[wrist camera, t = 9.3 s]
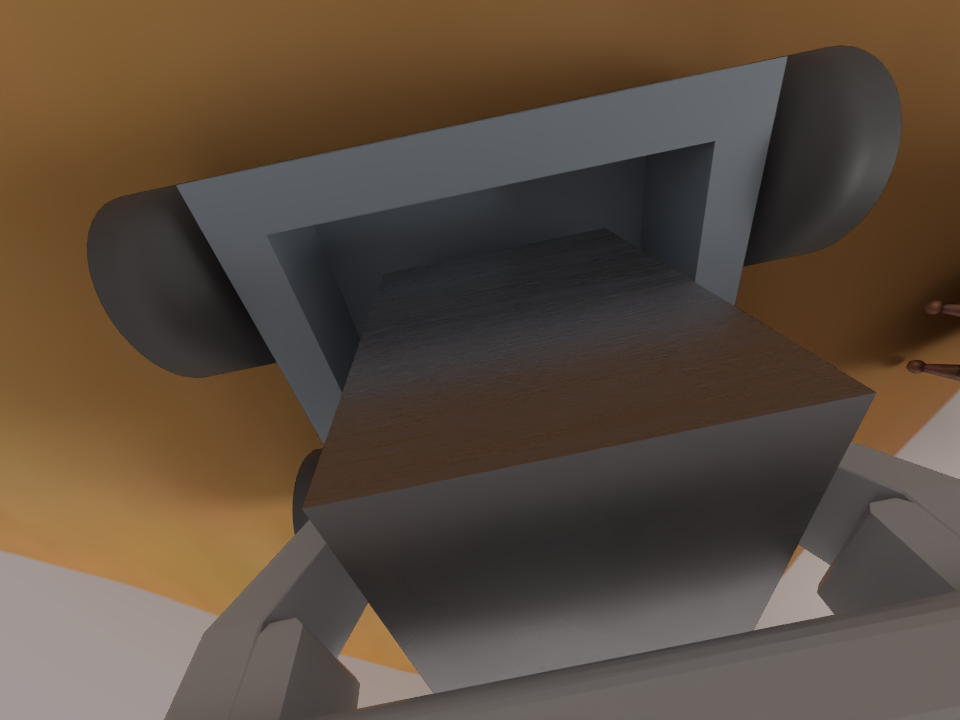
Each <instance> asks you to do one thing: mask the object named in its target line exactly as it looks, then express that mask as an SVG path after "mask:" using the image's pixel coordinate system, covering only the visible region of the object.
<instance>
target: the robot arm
mask: <svg viewBox="0 0 960 720" xmlns="http://www.w3.org/2000/svg"><path fill="white" fill-rule="evenodd" d="M798 545H800V546H802V547H803V548H805V549H806V550H808V551H809V552H811V553H812V554H814V555H815V556H817V557H819V558H820V559H822V560H823V561H825V562H827V563H828V564H829V565H831V566H830V567H829V569H828V570H827V572H826V574H825V575H824V577H823V578H822V580H821V582H820V583H819V586H818V591H817V593H818V594H819V596H820V597H821V598H822V599H823V601H824V602H825V603H826V604H827V606H829V608H830V609H831V611H832V612H833V613H834V614H835V615H831V616H825V617H820V618H815V619H810V620H805V621H800V622H795V623H790V624H785V625H780V626H775V627H769V628H765V629H759V630H754V631H749V632H744V633H739V634H734V635H729V636H724V637H719V638H714V639H709V640H703V641H698V642H693V643H688V644H683V645H678V646H673V647H668V648H663V649H658V650H653V651H648V652H643V653H638V654H632V655H627V656H622V657H617V658H612V659H607V660H602V661H597V662H592V663H587V664H582V665H577V666H572V667H567V668H561V669H556V670H551V671H546V672H541V673H536V674H531V675H526V676H521V677H516V678H511V679H506V680H501V681H496V682H490V683H485V684H480V685H475V686H470V687H465V688H460V689H455V690H450V691H445V692H440V693H435V694H430V695H425V696H420V697H415V698H410V699H404V700H399V701H394V702H389V703H385V704H379V705H374V706H369V707H364V708H359V709H357V704H358V696H359V688H360V683H359V682H358V680H357V679H356V677H355V676H354V675H353V674H352V673H351V672H350V671H349V670H348V669H347V668H346V667H345V666H344V665H343V664H342V663H341V662H340V661H339V660H338V659H337V657H338V656H339V654H340V652H341V650H342V648H343V647H344V645H345V643H346V641H347V639H348V638H349V636H350V634H351V632H352V631H353V629H354V627H355V625H356V623H357V622H358V620H359V618H360V616H361V614H362V613H363V611H364V609H365V607H366V606H367V604H368V601H367V600H366V598H365V597H364V595H363V594H362V593H361V591H360V590H359V588H358V587H357V586H356V584H355V583H354V581H353V580H352V579H351V577H350V576H349V574H348V573H347V572H346V570H345V569H344V567H343V566H342V565H341V563H340V562H339V560H338V559H337V558H336V556H335V555H334V553H333V552H332V551H331V549H330V548H329V546H328V545H327V543H326V542H325V541H324V539H323V538H322V536H321V535H320V534H319V532H318V531H317V529H316V528H315V527H314V525H313V524H312V522H311V521H310V520H308V522H307V523H306V524H305V525H304V526H303V527H302V528H301V529H300V530H299V531H298V532H297V533H296V534H295V536H294V537H293V538H292V539H291V540H290V541H289V542H288V543H287V544H286V545H285V546H284V547H283V548H282V550H281V551H280V552H279V553H278V554H277V555H276V556H275V557H274V558H273V559H272V560H271V561H270V562H269V564H268V565H267V566H266V567H265V568H264V569H263V570H262V571H261V572H260V573H259V574H258V575H257V576H256V578H255V579H254V580H253V581H252V582H251V583H250V584H249V585H248V586H247V587H246V588H245V589H244V590H243V592H242V593H241V594H240V595H239V596H238V597H237V598H236V599H235V600H234V601H233V602H232V603H231V604H230V606H229V607H228V608H227V609H226V610H225V611H224V612H223V613H222V614H221V615H220V616H219V617H218V618H217V620H216V621H215V622H214V623H213V624H212V625H211V626H210V627H209V628H208V629H207V630H206V631H205V633H204V634H203V636H202V638H201V641H200V642H199V645H198V647H197V649H196V651H195V653H194V656H193V658H192V660H191V662H190V664H189V667H188V669H187V671H186V673H185V675H184V677H183V680H182V682H181V684H180V686H179V688H178V690H177V693H176V695H175V697H174V699H173V701H172V704H171V706H170V708H169V710H168V712H167V714H166V717H165V719H164V720H960V479H957V478H954V477H951V476H948V475H945V474H943V473H939V472H937V471H934V470H931V469H928V468H925V467H923V466H920V465H917V464H914V463H911V462H908V461H905V460H903V459H900V458H897V457H894V456H891V455H888V454H885V453H883V452H880V451H877V450H874V449H871V448H868V447H865V446H863V445H860V444H857V443H854V442H851V443H850V445H849V447H848V449H847V451H846V453H845V455H844V457H843V458H842V460H841V462H840V464H839V466H838V468H837V470H836V472H835V474H834V476H833V478H832V480H831V482H830V484H829V486H828V487H827V489H826V491H825V493H824V495H823V497H822V499H821V501H820V503H819V505H818V507H817V509H816V511H815V513H814V515H813V516H812V518H811V520H810V522H809V524H808V526H807V528H806V530H805V532H804V534H803V536H802V538H801V540H800V542H799V544H798Z"/></svg>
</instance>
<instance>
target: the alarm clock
mask: <svg viewBox="0 0 960 720" xmlns="http://www.w3.org/2000/svg"><path fill="white" fill-rule="evenodd" d="M925 311H926V312H927V313H930V314H938V313H945V314H950V315H954V316H958V317H960V304H945V303H944V302H942V301H939V300H934V301H931V302H929V303H927V304H926V306H925ZM906 367H907V369H908V371H910V372H912V373H921V372H926V373H930V374H934V375H938V376H942V377H946V378H950V379H954V380H958V381H960V365H951V364H925V363H924V362H923V361H921V360H913V361H910V362H909V363H908V364H907V366H906Z"/></svg>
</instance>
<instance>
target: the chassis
mask: <svg viewBox="0 0 960 720" xmlns="http://www.w3.org/2000/svg"><path fill="white" fill-rule="evenodd" d="M901 126H902V116H901V104H900V100H899V95H898V91H897V88H896V86H895V83H894V81H893V79H892V76H891V75H890V73H889V72H888V70H887V69H886V67H885V66H884V65H883V64H882V63H881V62H880V61H879V60H878V59H877V58H876V57H875V56H873V55H872V54H870V53H868V52H866V51H865V50H862V49H859V48H856V47H853V46H841V45H840V46H831V47H825V48H820V49H816V50H811V51H806V52H801V53H797V54H792V55H787V56H783V57H778V58H773V59H768V60H764V61H759V62H754V63H750V64H746V65H741V66H736V67H731V68H726V69H721V70H716V71H711V72H706V73H701V74H696V75H691V76H686V77H681V78H676V79H671V80H666V81H661V82H657V83H652V84H647V85H642V86H638V87H633V88H628V89H624V90H619V91H614V92H609V93H605V94H600V95H595V96H590V97H586V98H581V99H576V100H572V101H567V102H562V103H557V104H553V105H548V106H543V107H538V108H534V109H529V110H524V111H519V112H515V113H510V114H505V115H501V116H496V117H491V118H486V119H482V120H477V121H472V122H467V123H463V124H458V125H453V126H449V127H444V128H439V129H434V130H430V131H425V132H420V133H415V134H411V135H406V136H401V137H397V138H392V139H387V140H382V141H378V142H373V143H368V144H363V145H359V146H354V147H349V148H344V149H340V150H335V151H330V152H326V153H321V154H316V155H311V156H307V157H302V158H297V159H292V160H288V161H283V162H278V163H274V164H269V165H264V166H260V167H255V168H251V169H246V170H242V171H237V172H233V173H229V174H224V175H220V176H215V177H211V178H207V179H202V180H196V181H191V182H187V183H182V184H177V185H172V186H168V187H163V188H158V189H153V190H149V191H144V192H139V193H135V194H130V195H125V196H121V197H118V198H115V199H112V200H111V201H109V202H108V203H106V204H105V205H104V206H103V207H102V208H101V209H100V210H99V211H98V212H97V214H96V215H95V217H94V219H93V221H92V223H91V226H90V230H89V233H88V241H87V257H88V264H89V270H90V275H91V278H92V281H93V284H94V288H95V290H96V293H97V295H98V297H99V299H100V302H101V304H102V306H103V307H104V309H105V311H106V313H107V314H108V316H109V318H110V319H111V321H112V322H113V324H114V325H115V326H116V328H117V329H118V330H119V332H120V333H121V334H122V335H123V336H124V338H125V339H126V340H127V341H128V342H129V343H130V344H131V345H132V346H133V347H134V348H135V349H136V350H137V351H138V352H140V353H141V354H142V355H143V356H144V357H146V358H147V359H149V360H150V361H151V362H153V363H154V364H156V365H158V366H159V367H161V368H163V369H165V370H167V371H170V372H172V373H174V374H177V375H181V376H185V377H192V378H204V377H209V376H214V375H219V374H224V373H229V372H234V371H238V370H243V369H248V368H253V367H258V366H263V365H267V364H272V363H276V362H277V364H278V366H279V367H280V369H281V371H282V373H283V374H284V376H285V378H286V380H287V381H288V383H289V385H290V387H291V388H292V390H293V392H294V394H295V395H296V397H297V399H298V401H299V403H300V404H301V406H302V408H303V410H304V411H305V413H306V415H307V417H308V418H309V420H310V422H311V424H312V425H313V427H314V429H315V431H316V432H317V434H318V436H319V438H320V439H321V441H322V443H323V445H324V444H325V441H326V438H327V435H328V432H329V430H330V427H331V424H332V421H333V418H334V415H335V412H336V409H337V406H338V403H339V401H340V398H341V395H342V392H343V389H344V386H345V383H346V380H347V377H348V374H349V372H350V369H351V366H352V363H353V360H354V357H355V354H356V351H357V348H358V346H359V343H360V340H361V337H362V334H363V331H364V328H365V325H366V322H367V319H368V317H369V314H370V311H371V308H372V305H373V302H374V299H375V296H376V293H377V290H378V288H379V285H380V282H381V279H382V276H383V274H385V273H390V272H395V271H400V270H404V269H409V268H414V267H419V266H424V265H428V264H433V263H438V262H443V261H448V260H452V259H457V258H462V257H467V256H472V255H476V254H481V253H486V252H491V251H496V250H500V249H505V248H510V247H515V246H520V245H524V244H529V243H534V242H539V241H544V240H548V239H553V238H558V237H563V236H568V235H573V234H577V233H582V232H587V231H592V230H597V229H601V228H606V229H608V230H610V231H611V232H613V233H615V234H616V235H618V236H620V237H621V238H623V239H625V240H626V241H628V242H630V243H631V244H633V245H634V246H636V247H638V248H639V249H641V250H643V251H644V252H646V253H648V254H649V255H651V256H653V257H654V258H656V259H658V260H659V261H661V262H662V263H664V264H666V265H667V266H669V267H671V268H672V269H674V270H676V271H677V272H679V273H681V274H682V275H684V276H686V277H687V278H689V279H690V280H692V281H694V282H695V283H697V284H699V285H700V286H702V287H704V288H705V289H707V290H709V291H710V292H712V293H714V294H715V295H717V296H718V297H720V298H722V299H723V300H725V301H727V302H728V303H730V304H732V305H733V306H735V302H736V297H737V292H738V287H739V283H740V278H741V273H742V269H743V266H748V265H753V264H757V263H762V262H767V261H772V260H777V259H782V258H787V257H791V256H796V255H801V254H806V253H811V252H815V251H818V250H820V249H823V248H825V247H827V246H829V245H831V244H833V243H835V242H837V241H838V240H840V239H841V238H843V237H844V236H846V235H847V234H848V233H849V232H850V231H851V230H853V229H854V228H855V227H856V226H857V225H858V224H859V223H860V222H861V221H862V220H863V219H864V217H865V216H866V215H867V214H868V213H869V211H870V210H871V209H872V207H873V206H874V205H875V203H876V202H877V200H878V198H879V197H880V195H881V193H882V192H883V190H884V188H885V186H886V184H887V182H888V180H889V177H890V175H891V173H892V170H893V167H894V164H895V161H896V158H897V154H898V149H899V144H900V139H901ZM322 450H323V448H321V449H317V450H314V451H312V452H311V453H309V454H308V455H307V457H306V458H305V459H304V461H303V462H302V464H301V467H300V469H299V472H298V474H297V478H296V482H295V487H294V494H293V525H294V532H295V534H296V533H297V532H298V531H299V530H300V529H301V528H302V527H303V526H304V525H305V524H306V523H307V522H308V520H309V518H308V517H307V515H306V514H305V513H304V511H303V510H302V508H303V505H304V502H305V499H306V496H307V493H308V490H309V487H310V485H311V482H312V479H313V476H314V473H315V470H316V467H317V464H318V461H319V458H320V456H321V453H322Z"/></svg>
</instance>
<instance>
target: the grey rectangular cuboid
mask: <svg viewBox="0 0 960 720" xmlns="http://www.w3.org/2000/svg"><path fill="white" fill-rule="evenodd" d="M876 393H877V392H875V391H873V390H872V389H870V388H868V387H867V386H865V385H863V384H862V383H860V382H859V381H857V380H855V379H854V378H852V377H850V376H849V375H847V374H845V373H844V372H842V371H840V370H839V369H837V368H835V367H834V366H832V365H831V364H829V363H827V362H826V361H824V360H822V359H821V358H819V357H817V356H816V355H814V354H812V353H811V352H809V351H807V350H806V349H804V348H803V347H801V346H799V345H798V344H796V343H794V342H793V341H791V340H789V339H788V338H786V337H784V336H783V335H781V334H779V333H778V332H776V331H775V330H773V329H771V328H770V327H768V326H766V325H765V324H763V323H761V322H760V321H758V320H756V319H755V318H753V317H751V316H750V315H748V314H747V313H745V312H743V311H742V310H740V309H738V308H737V307H735V306H733V305H732V304H730V303H728V302H727V301H725V300H723V299H722V298H720V297H718V296H717V295H715V294H714V293H712V292H710V291H709V290H707V289H705V288H704V287H702V286H700V285H699V284H697V283H695V282H694V281H692V280H690V279H689V278H687V277H686V276H684V275H682V274H681V273H679V272H677V271H676V270H674V269H672V268H671V267H669V266H667V265H666V264H664V263H662V262H661V261H659V260H658V259H656V258H654V257H653V256H651V255H649V254H648V253H646V252H644V251H643V250H641V249H639V248H638V247H636V246H634V245H633V244H631V243H630V242H628V241H626V240H625V239H623V238H621V237H620V236H618V235H616V234H615V233H613V232H611V231H610V230H608V229H606V228H601V229H597V230H592V231H587V232H582V233H577V234H573V235H568V236H563V237H558V238H553V239H548V240H544V241H539V242H534V243H529V244H524V245H520V246H515V247H510V248H505V249H500V250H496V251H491V252H486V253H481V254H476V255H472V256H467V257H462V258H457V259H452V260H448V261H443V262H438V263H433V264H428V265H424V266H419V267H414V268H409V269H404V270H400V271H395V272H390V273H385V274H383V276H382V279H381V282H380V285H379V288H378V290H377V293H376V296H375V299H374V302H373V305H372V308H371V311H370V314H369V317H368V319H367V322H366V325H365V328H364V331H363V334H362V337H361V340H360V343H359V346H358V348H357V351H356V354H355V357H354V360H353V363H352V366H351V369H350V372H349V374H348V377H347V380H346V383H345V386H344V389H343V392H342V395H341V398H340V401H339V403H338V406H337V409H336V412H335V415H334V418H333V421H332V424H331V427H330V430H329V432H328V435H327V438H326V441H325V444H324V447H323V450H322V453H321V456H320V458H319V461H318V464H317V467H316V470H315V473H314V476H313V479H312V482H311V485H310V487H309V490H308V493H307V496H306V499H305V502H304V505H303V508H302V510H303V511H304V513H305V514H306V515H307V517H308V518H309V520H310V521H311V522H312V524H313V525H314V527H315V528H316V529H317V531H318V532H319V534H320V535H321V536H322V538H323V539H324V541H325V542H326V543H327V545H328V546H329V548H330V549H331V551H332V552H333V553H334V555H335V556H336V558H337V559H338V560H339V562H340V563H341V565H342V566H343V567H344V569H345V570H346V572H347V573H348V574H349V576H350V577H351V579H352V580H353V581H354V583H355V584H356V586H357V587H358V588H359V590H360V591H361V593H362V594H363V595H364V597H365V598H366V600H367V601H368V602H369V604H370V605H371V607H372V608H373V609H374V611H375V612H376V614H377V615H378V616H379V618H380V619H381V621H382V622H383V623H384V625H385V626H386V628H387V629H388V630H389V632H390V633H391V635H392V636H393V638H394V639H395V640H396V642H397V643H398V645H399V646H400V647H401V649H402V650H403V652H404V653H405V654H406V656H407V657H408V659H409V660H410V661H411V663H412V664H413V666H414V667H415V668H416V670H417V671H418V673H419V674H420V675H421V677H422V678H423V680H424V681H425V682H426V684H427V685H428V687H429V688H430V689H431V691H432V692H433V694H435V693H440V692H445V691H450V690H455V689H460V688H465V687H470V686H475V685H480V684H485V683H490V682H496V681H501V680H506V679H511V678H516V677H521V676H526V675H531V674H536V673H541V672H546V671H551V670H556V669H561V668H567V667H572V666H577V665H582V664H587V663H592V662H597V661H602V660H607V659H612V658H617V657H622V656H627V655H632V654H638V653H643V652H648V651H653V650H658V649H663V648H668V647H673V646H678V645H683V644H688V643H693V642H698V641H703V640H709V639H714V638H719V637H724V636H729V635H734V634H739V633H744V632H749V631H754V629H755V627H756V624H757V623H758V621H759V619H760V617H761V615H762V613H763V611H764V609H765V607H766V605H767V603H768V602H769V600H770V598H771V596H772V594H773V592H774V590H775V588H776V586H777V584H778V582H779V580H780V578H781V576H782V575H783V573H784V571H785V569H786V567H787V565H788V563H789V561H790V559H791V557H792V555H793V553H794V551H795V549H796V547H797V546H798V544H799V542H800V540H801V538H802V536H803V534H804V532H805V530H806V528H807V526H808V524H809V522H810V520H811V518H812V516H813V515H814V513H815V511H816V509H817V507H818V505H819V503H820V501H821V499H822V497H823V495H824V493H825V491H826V489H827V487H828V486H829V484H830V482H831V480H832V478H833V476H834V474H835V472H836V470H837V468H838V466H839V464H840V462H841V460H842V458H843V457H844V455H845V453H846V451H847V449H848V447H849V445H850V443H851V441H852V439H853V437H854V435H855V433H856V431H857V429H858V428H859V426H860V424H861V422H862V420H863V418H864V416H865V414H866V412H867V410H868V408H869V406H870V404H871V402H872V400H873V399H874V397H875V395H876Z"/></svg>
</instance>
